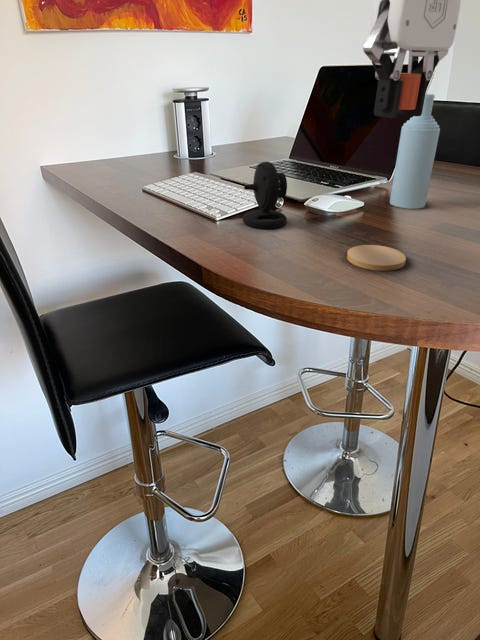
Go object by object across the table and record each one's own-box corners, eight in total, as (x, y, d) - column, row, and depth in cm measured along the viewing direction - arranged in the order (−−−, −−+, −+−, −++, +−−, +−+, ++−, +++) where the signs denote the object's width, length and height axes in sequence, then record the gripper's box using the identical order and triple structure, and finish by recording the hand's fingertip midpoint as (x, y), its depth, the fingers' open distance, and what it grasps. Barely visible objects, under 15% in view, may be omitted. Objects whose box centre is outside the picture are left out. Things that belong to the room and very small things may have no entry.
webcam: (293, 228, 82) (298, 165, 77) (250, 231, 80) (252, 167, 75) (277, 214, 89) (280, 156, 84) (236, 217, 87) (237, 158, 82)
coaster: (373, 246, 75) (374, 241, 75) (417, 263, 69) (418, 257, 69) (335, 256, 71) (335, 251, 71) (378, 275, 65) (378, 269, 65)
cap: (401, 110, 58) (406, 74, 57) (375, 107, 61) (380, 72, 59) (421, 109, 60) (428, 74, 59) (396, 106, 63) (401, 72, 61)
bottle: (404, 198, 101) (422, 92, 91) (432, 205, 96) (454, 95, 87) (382, 202, 97) (399, 93, 88) (410, 210, 93) (431, 96, 83)
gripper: (404, -91, 46) (374, 123, 54) (504, -66, 54) (464, 116, 63) (345, -77, 51) (326, 115, 60) (445, -56, 59) (415, 110, 68)
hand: (397, 114), depth 61 cm, fingers closed on cap, 3 cm apart
